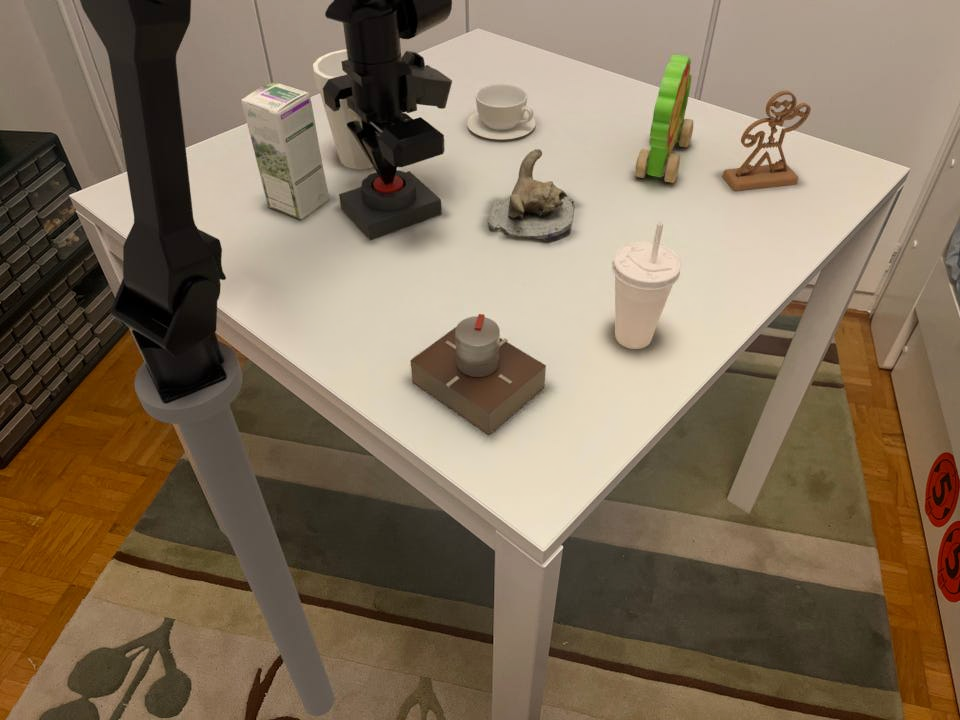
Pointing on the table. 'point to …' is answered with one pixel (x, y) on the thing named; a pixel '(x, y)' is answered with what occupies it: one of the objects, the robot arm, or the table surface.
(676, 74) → the toy lion
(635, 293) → the smoothie
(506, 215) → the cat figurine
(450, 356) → the panel
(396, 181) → the button
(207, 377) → the robot arm
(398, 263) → the table surface
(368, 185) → the block
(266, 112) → the syrup box
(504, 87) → the teacup
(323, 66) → the foam cup
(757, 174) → the brown wooden figure
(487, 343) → the heat knob
